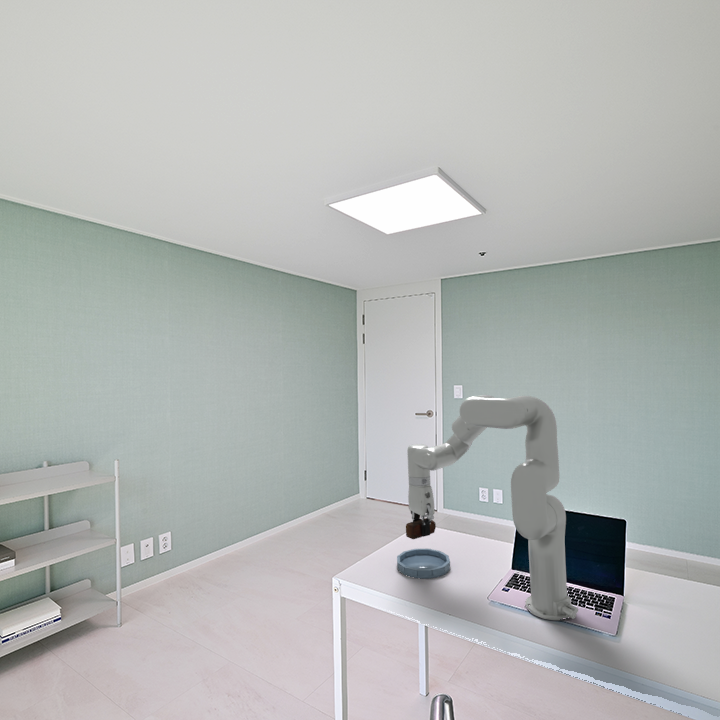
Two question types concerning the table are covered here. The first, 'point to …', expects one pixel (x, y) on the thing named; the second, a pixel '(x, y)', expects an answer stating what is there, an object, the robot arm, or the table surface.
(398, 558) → the dish
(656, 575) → the table surface
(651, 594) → the table surface
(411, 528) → the brick
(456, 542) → the table surface
